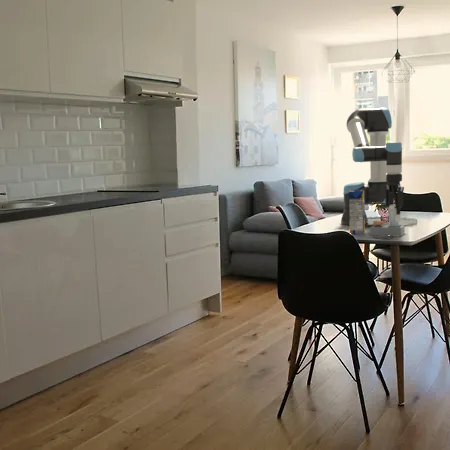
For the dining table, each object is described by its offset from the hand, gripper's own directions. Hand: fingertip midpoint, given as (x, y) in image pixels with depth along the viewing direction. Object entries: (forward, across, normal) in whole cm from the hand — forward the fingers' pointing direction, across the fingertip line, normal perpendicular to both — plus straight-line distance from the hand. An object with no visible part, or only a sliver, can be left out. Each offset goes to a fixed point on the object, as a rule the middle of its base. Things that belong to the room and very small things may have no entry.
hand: (394, 220), depth 297 cm
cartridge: (+6, 0, 0) cm, 6 cm away
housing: (+7, +2, +2) cm, 8 cm away
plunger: (+6, +6, +6) cm, 10 cm away
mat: (+7, -6, +10) cm, 13 cm away
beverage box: (+7, +14, +13) cm, 20 cm away
